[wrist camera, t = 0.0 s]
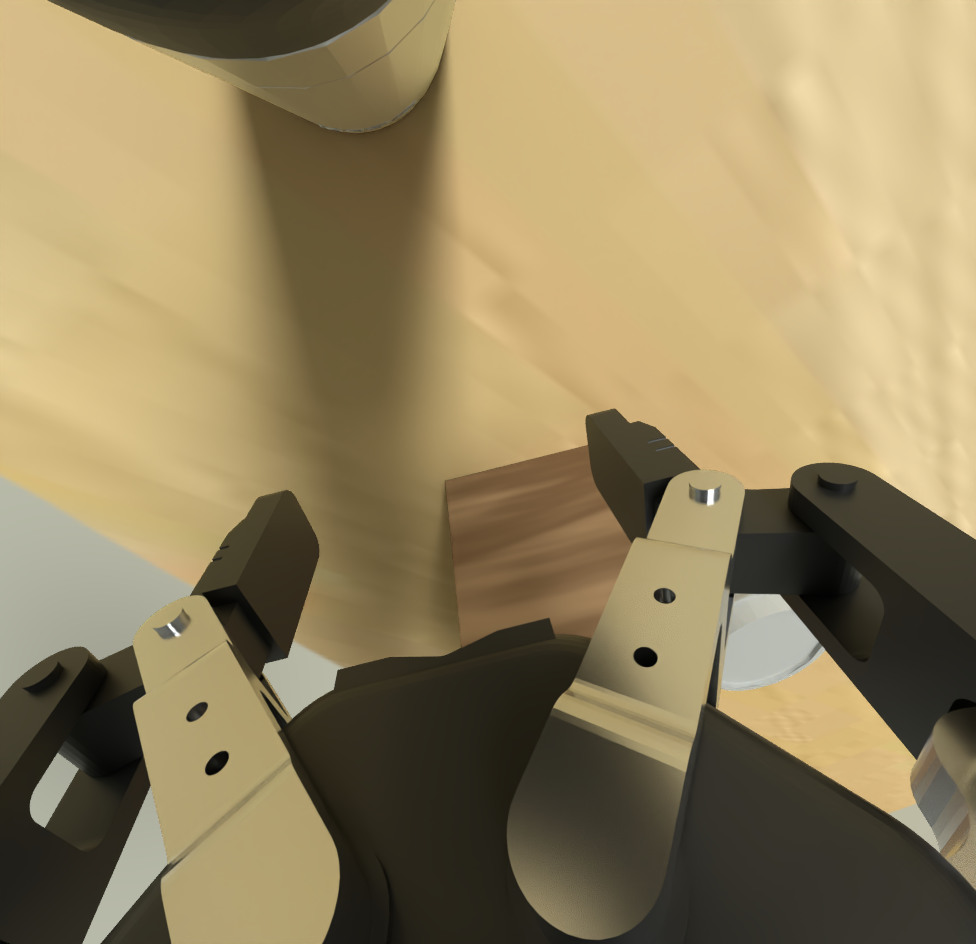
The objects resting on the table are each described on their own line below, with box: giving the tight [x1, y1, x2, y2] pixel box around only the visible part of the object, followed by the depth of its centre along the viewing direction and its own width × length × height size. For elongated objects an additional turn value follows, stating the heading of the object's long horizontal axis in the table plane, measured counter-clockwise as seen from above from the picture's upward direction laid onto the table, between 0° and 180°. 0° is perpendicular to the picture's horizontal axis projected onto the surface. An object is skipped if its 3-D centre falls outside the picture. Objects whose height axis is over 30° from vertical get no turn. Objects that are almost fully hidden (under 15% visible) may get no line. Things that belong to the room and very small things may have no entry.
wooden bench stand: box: [445, 445, 632, 648], centre depth 32 cm, size 22×11×17 cm, turn 12°
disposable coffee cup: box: [721, 594, 825, 691], centre depth 34 cm, size 10×10×12 cm
